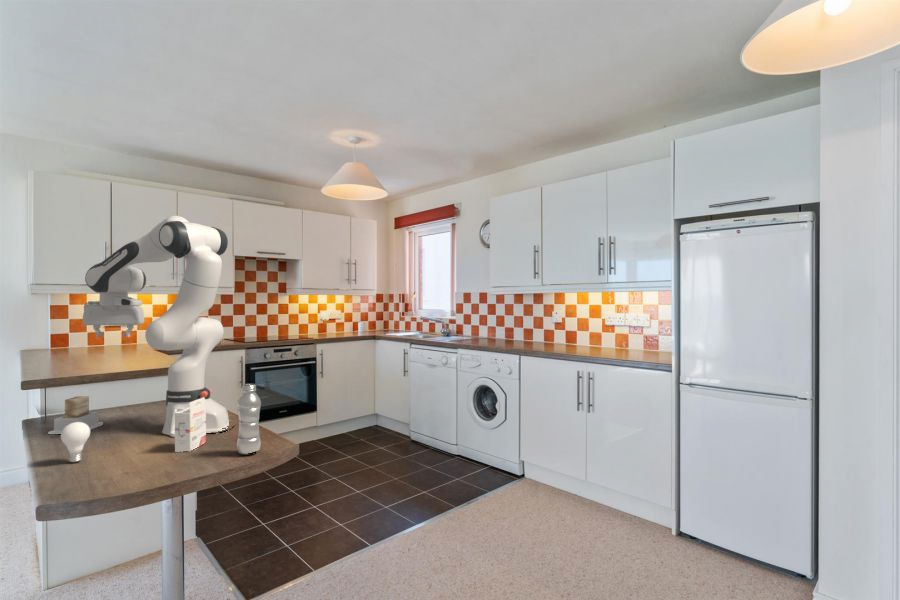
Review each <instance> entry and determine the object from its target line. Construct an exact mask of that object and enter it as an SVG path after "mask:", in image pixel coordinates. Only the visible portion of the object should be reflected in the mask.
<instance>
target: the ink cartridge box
mask: <svg viewBox="0 0 900 600" xmlns="http://www.w3.org/2000/svg"><path fill="white" fill-rule="evenodd" d="M197 402H198V403H200V405H198V406H195V404H197ZM205 442H206V443H207V434H206V405H205V398H204V397H203V398H201V399H198V400H195V401H192V402H190V403H189V408H187V409H184V410H181V411H179V412H176V413H175V437H174V452H175V453H184V452H183V451H191V450H193V449H195V448H197V447H199V446H200V445H202V444H204V443H205ZM204 445H205V444H204ZM199 448H200V447H199ZM197 449H198V448H197ZM195 450H196V449H195ZM180 451H181V452H180Z"/></svg>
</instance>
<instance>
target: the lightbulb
mask: <svg viewBox="0 0 900 600" xmlns="http://www.w3.org/2000/svg"><path fill="white" fill-rule="evenodd" d="M90 436H91V430H90V428H89V426H88V425H87V424H85V423H83V422H73V423H70V424H68V425H67V426H66V427H65V428H64V429H63V430H62V432H61V435H60V440H61V441H62V443H63V444H64V445H65V446H66V447H67V452H68V454H69V458H68V461H69V462H70V463H73V464H75V463H78V462H80V461H81V460H82V459H83V457H82V455H83V450H84V447H85V446H84V445H85V444H86V442H87V441H88V440H89V438H90Z"/></svg>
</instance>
